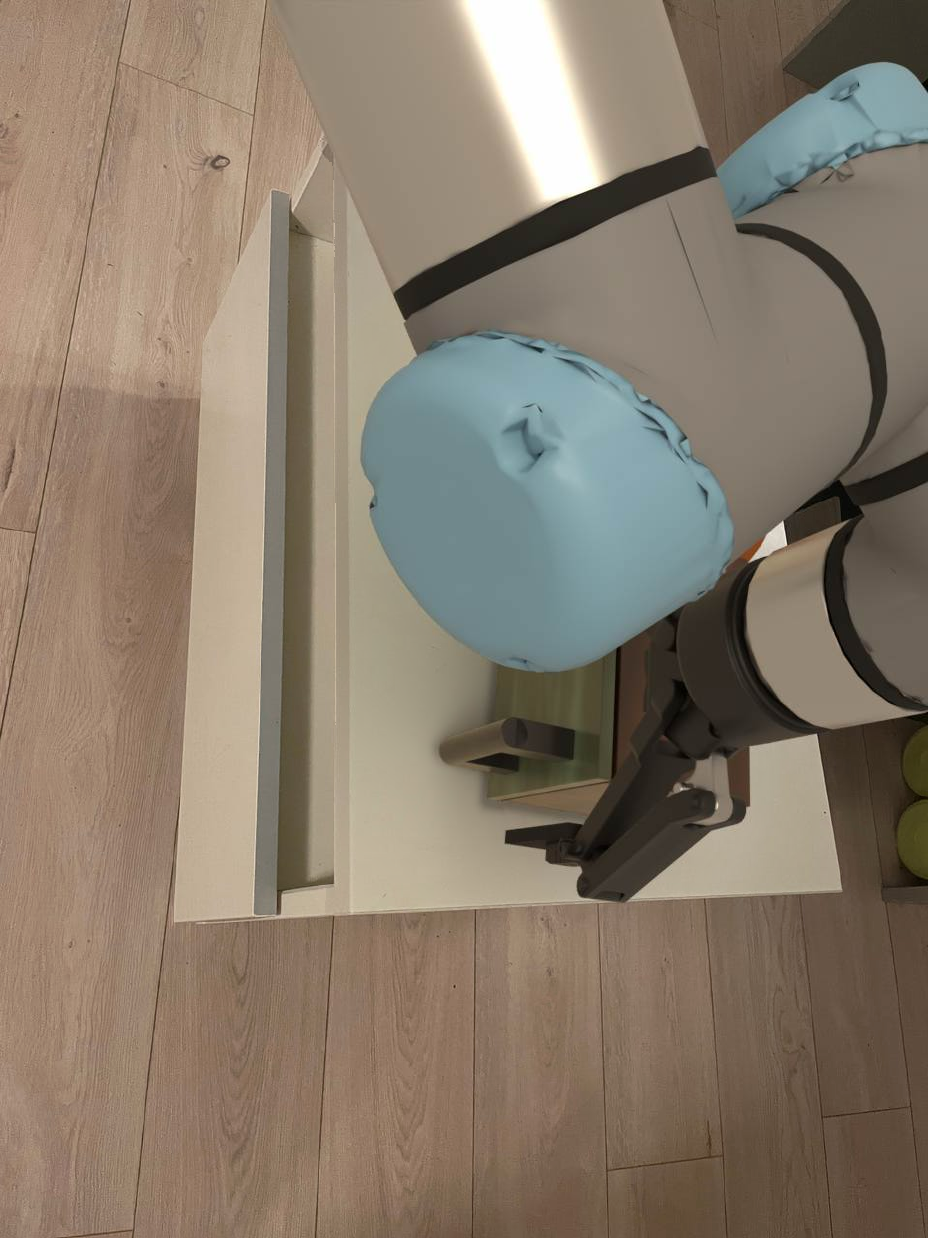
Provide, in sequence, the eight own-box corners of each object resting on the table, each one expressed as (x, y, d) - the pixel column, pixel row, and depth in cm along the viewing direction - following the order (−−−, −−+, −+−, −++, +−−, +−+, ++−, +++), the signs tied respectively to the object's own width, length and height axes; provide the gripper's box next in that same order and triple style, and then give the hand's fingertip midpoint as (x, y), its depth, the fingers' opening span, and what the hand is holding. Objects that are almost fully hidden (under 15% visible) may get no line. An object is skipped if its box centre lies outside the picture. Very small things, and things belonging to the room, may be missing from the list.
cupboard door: (418, 787, 67) (521, 763, 55) (442, 560, 73) (541, 491, 61) (495, 801, 70) (611, 780, 57) (513, 580, 76) (621, 518, 63)
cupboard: (497, 801, 70) (616, 781, 57) (514, 581, 76) (626, 518, 63) (616, 821, 75) (750, 807, 62) (623, 612, 80) (747, 559, 68)
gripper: (892, 976, 35) (575, 950, 53) (857, 402, 43) (593, 549, 61) (738, 961, 32) (458, 938, 50) (732, 346, 40) (494, 518, 58)
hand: (532, 724), depth 55 cm, fingers open, 13 cm apart
